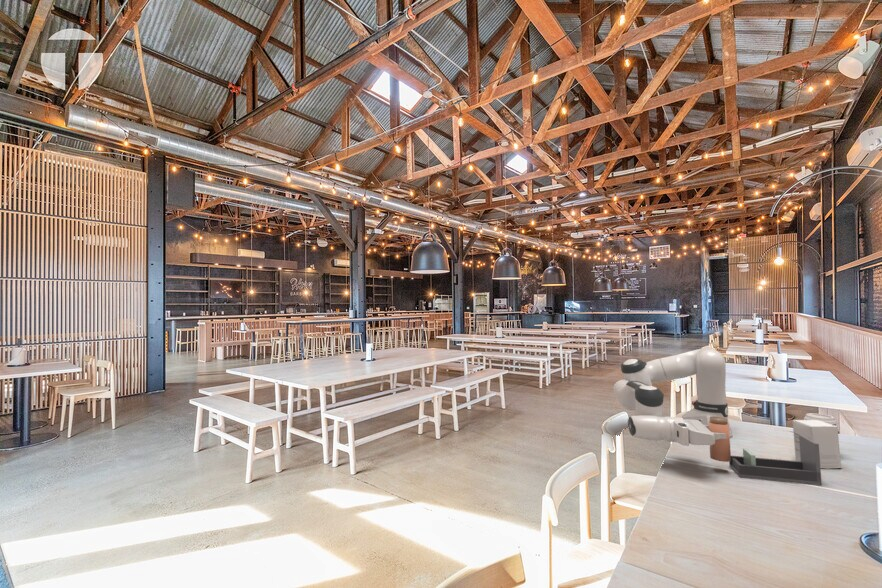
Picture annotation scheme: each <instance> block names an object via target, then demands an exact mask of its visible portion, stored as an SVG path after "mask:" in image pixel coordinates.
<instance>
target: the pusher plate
mask: <svg viewBox="0 0 882 588" xmlns="http://www.w3.org/2000/svg"><path fill="white" fill-rule="evenodd" d="M742 457H743V459H744V465H753V466H756V458H757V457H756V455H755V454H754V453H753V452H752V451H750V450H749V449H748V448H746V447H745V448H744V447H743V448H742Z"/></svg>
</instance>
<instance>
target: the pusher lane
mask: <svg viewBox="0 0 882 588" xmlns="http://www.w3.org/2000/svg"><path fill="white" fill-rule="evenodd" d="M799 442H800V457H801V461H797V460H787V459H777V458H776V459H775V458H764V457H755V458H756V466H753V465H744V459H743V455H741V456H740V455H731V461H729V462H728V463H729V468H730V469H731V470H732V471H733V473H735V474H736V475H737V476H738V477H739V478H745V479H753V480H754V479H756V480H762V481H764V480H765V481H773V482H774V481H775V482H784V483H793V484H794V483H795V484H804V485H806V484H807V485H812V486H814V485H815V486H822V473H821V470H822V469H820V455H819V444H818V443H816V442H814V441H812V440H810V439H809V438H807V437H805V436H803V435H799Z"/></svg>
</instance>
